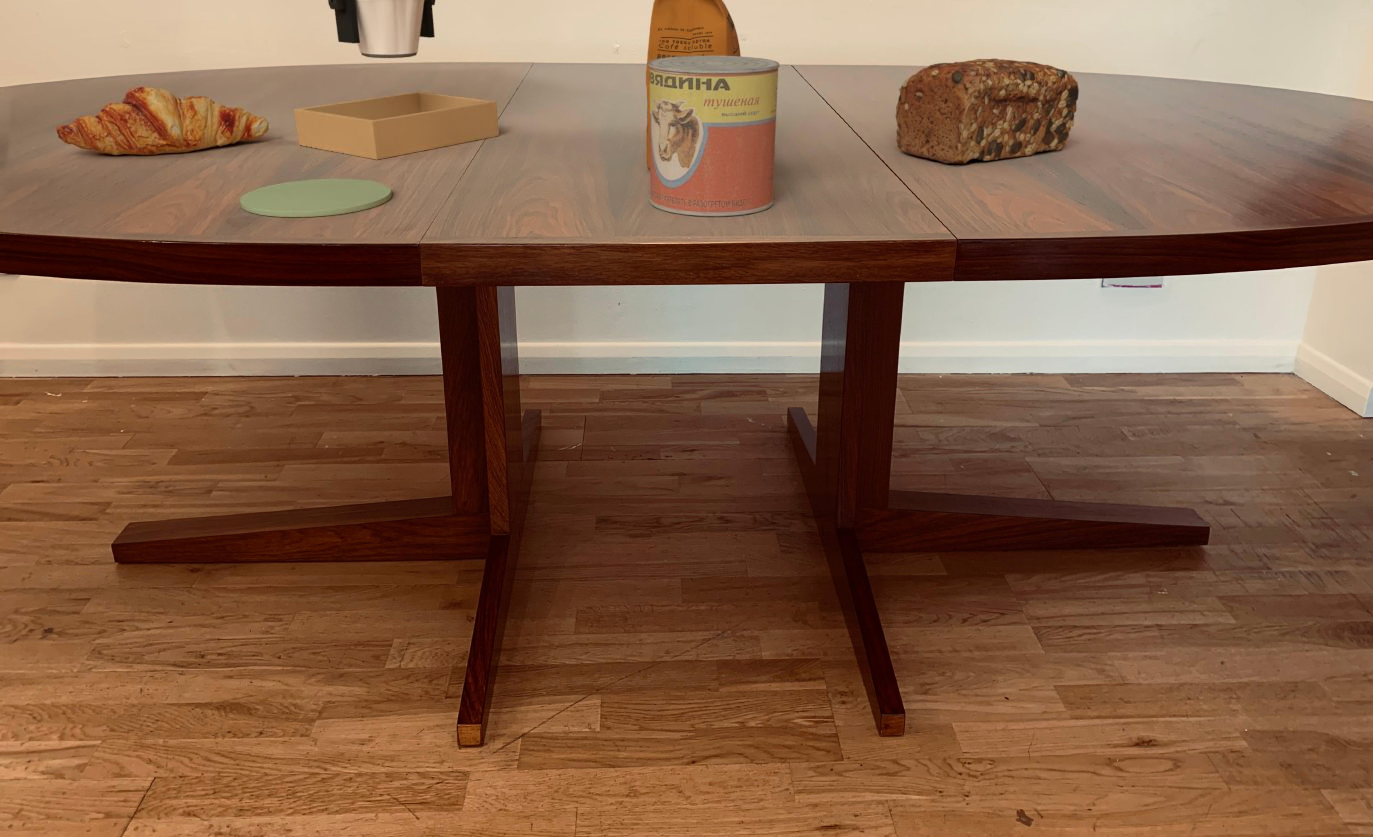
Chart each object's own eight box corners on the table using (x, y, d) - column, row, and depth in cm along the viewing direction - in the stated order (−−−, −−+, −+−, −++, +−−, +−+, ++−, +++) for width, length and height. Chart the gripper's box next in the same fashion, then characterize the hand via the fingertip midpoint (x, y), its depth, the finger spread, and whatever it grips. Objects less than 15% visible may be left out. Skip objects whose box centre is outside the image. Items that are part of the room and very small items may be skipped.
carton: (299, 145, 115) (293, 109, 114) (422, 124, 129) (419, 91, 127) (376, 159, 108) (372, 121, 106) (499, 135, 122) (496, 101, 120)
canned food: (623, 201, 92) (621, 62, 86) (704, 182, 99) (706, 52, 94) (719, 223, 85) (722, 73, 80) (798, 200, 93) (805, 62, 87)
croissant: (271, 165, 121) (257, 100, 121) (279, 137, 112) (263, 66, 112) (68, 179, 112) (52, 109, 111) (59, 149, 103) (42, 72, 103)
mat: (210, 202, 90) (209, 197, 90) (332, 177, 100) (332, 172, 100) (299, 225, 84) (298, 219, 83) (421, 196, 93) (420, 190, 93)
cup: (396, 62, 108) (386, -33, 104) (323, 56, 112) (312, -35, 108) (453, 54, 116) (446, -34, 113) (384, 49, 120) (375, -36, 116)
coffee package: (751, 154, 112) (758, -66, 102) (729, 178, 101) (735, -66, 91) (664, 150, 114) (663, -67, 104) (633, 172, 103) (629, -67, 94)
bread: (957, 169, 106) (969, 68, 101) (887, 152, 114) (895, 58, 109) (1074, 151, 115) (1090, 58, 110) (1001, 136, 123) (1013, 49, 119)
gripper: (291, -207, 94) (324, 48, 103) (470, -182, 110) (484, 35, 120) (244, -202, 98) (280, 43, 107) (423, -179, 114) (441, 31, 124)
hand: (388, 39), depth 114 cm, fingers closed on cup, 10 cm apart
